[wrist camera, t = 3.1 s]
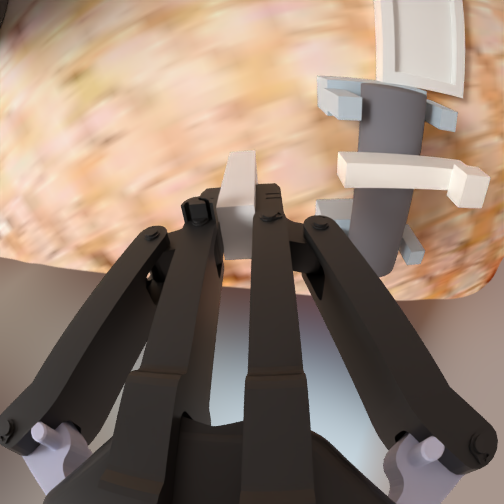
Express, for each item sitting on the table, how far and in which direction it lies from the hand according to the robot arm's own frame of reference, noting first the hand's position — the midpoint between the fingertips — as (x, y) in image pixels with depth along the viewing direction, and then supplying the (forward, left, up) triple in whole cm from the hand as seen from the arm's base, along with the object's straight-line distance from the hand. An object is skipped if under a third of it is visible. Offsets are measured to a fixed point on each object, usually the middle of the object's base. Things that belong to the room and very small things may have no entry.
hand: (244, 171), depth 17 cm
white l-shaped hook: (0, +11, -1) cm, 11 cm away
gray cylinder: (+3, +11, -6) cm, 13 cm away
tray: (-16, +17, -10) cm, 25 cm away
